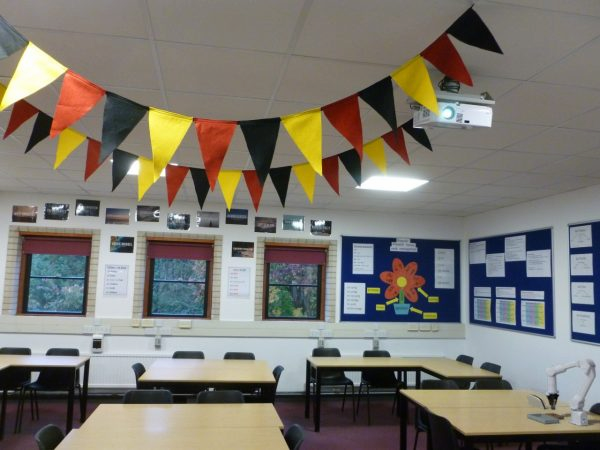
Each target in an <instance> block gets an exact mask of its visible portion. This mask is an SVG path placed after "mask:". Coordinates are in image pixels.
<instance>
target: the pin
mask: <svg viewBox="0 0 600 450" xmlns="http://www.w3.org/2000/svg"><path fill="white" fill-rule="evenodd" d="M555 401H556V399H554V402H553V406H551V405H550V410H553V411H555V410H556V405H555Z"/></svg>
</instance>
